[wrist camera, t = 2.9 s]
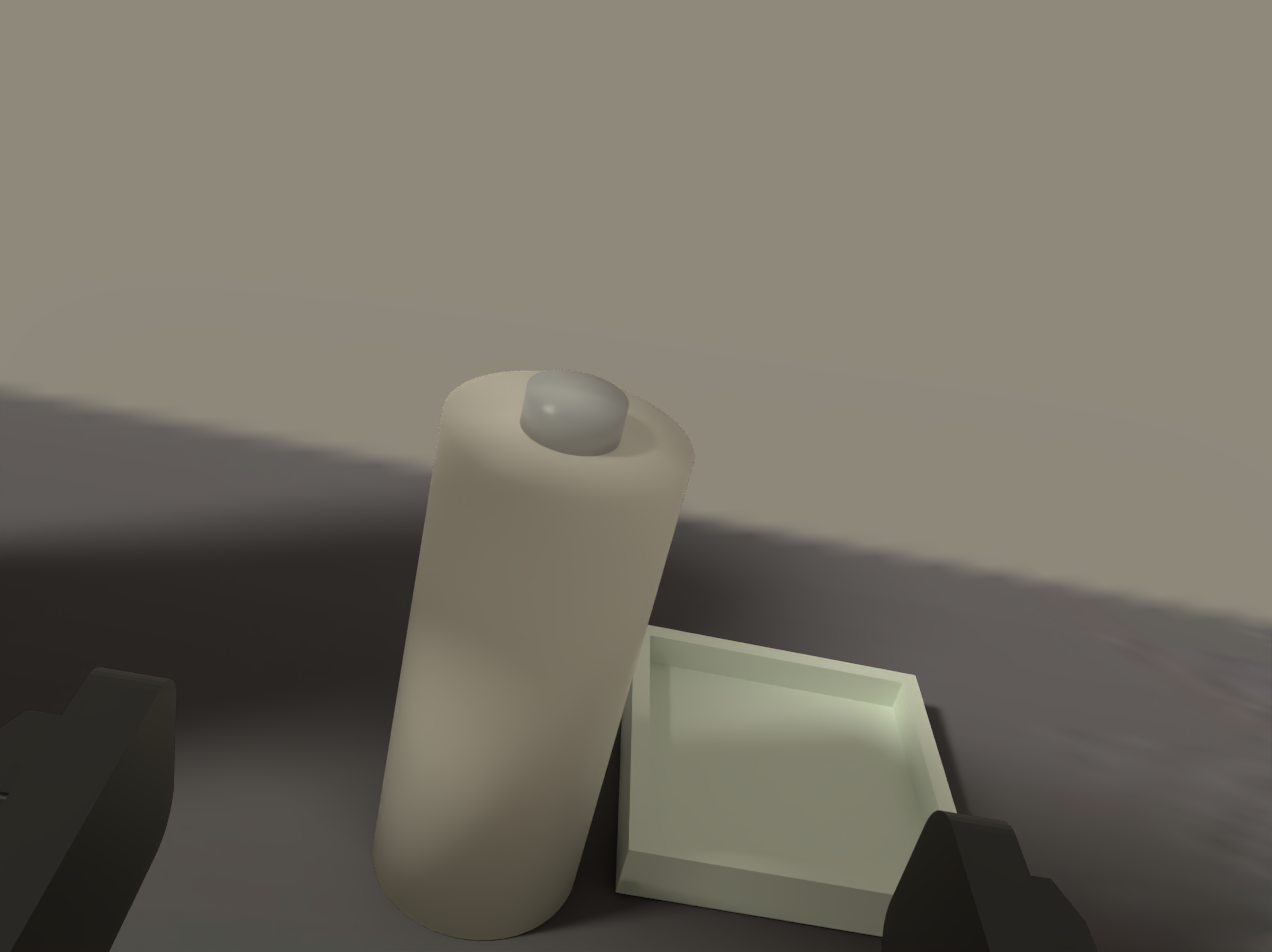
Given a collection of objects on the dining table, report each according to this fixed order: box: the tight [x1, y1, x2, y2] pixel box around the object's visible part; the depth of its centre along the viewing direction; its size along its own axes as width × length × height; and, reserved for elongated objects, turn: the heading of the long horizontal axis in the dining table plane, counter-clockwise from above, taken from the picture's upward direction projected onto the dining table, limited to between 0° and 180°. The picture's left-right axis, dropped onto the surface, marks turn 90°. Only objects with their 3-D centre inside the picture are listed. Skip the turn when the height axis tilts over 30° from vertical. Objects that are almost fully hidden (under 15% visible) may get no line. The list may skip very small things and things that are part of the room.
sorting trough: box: [615, 625, 957, 937], centre depth 33 cm, size 9×9×2 cm
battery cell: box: [373, 370, 694, 940], centre depth 26 cm, size 5×5×13 cm
